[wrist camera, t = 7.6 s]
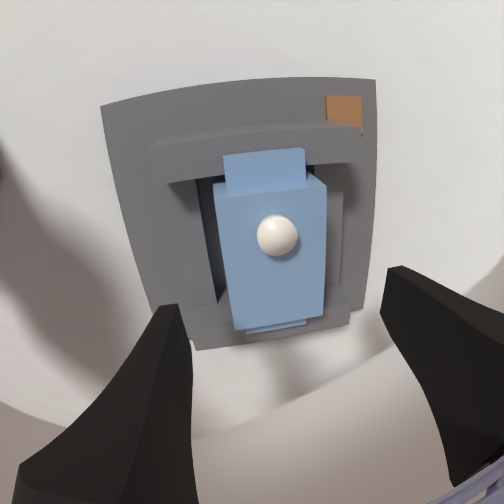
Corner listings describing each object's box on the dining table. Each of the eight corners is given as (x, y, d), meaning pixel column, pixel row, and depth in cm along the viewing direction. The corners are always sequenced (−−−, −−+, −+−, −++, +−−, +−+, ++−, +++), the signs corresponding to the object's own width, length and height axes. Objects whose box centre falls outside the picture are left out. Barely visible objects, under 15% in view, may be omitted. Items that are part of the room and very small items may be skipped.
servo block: (229, 288, 18) (239, 358, 13) (208, 143, 14) (209, 169, 9) (295, 277, 19) (325, 342, 14) (289, 135, 14) (332, 156, 10)
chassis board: (164, 331, 20) (159, 380, 17) (106, 105, 13) (72, 110, 9) (357, 299, 22) (383, 340, 18) (366, 79, 14) (412, 80, 10)
